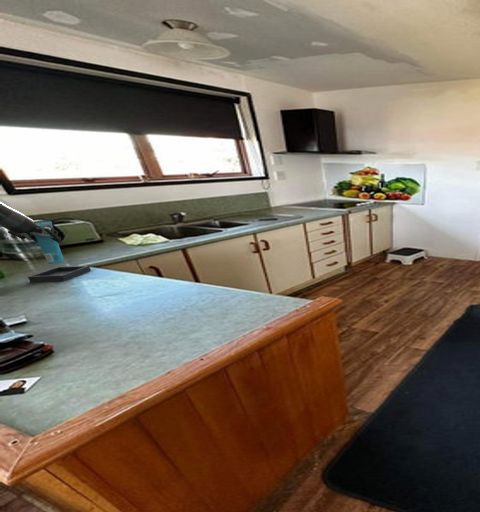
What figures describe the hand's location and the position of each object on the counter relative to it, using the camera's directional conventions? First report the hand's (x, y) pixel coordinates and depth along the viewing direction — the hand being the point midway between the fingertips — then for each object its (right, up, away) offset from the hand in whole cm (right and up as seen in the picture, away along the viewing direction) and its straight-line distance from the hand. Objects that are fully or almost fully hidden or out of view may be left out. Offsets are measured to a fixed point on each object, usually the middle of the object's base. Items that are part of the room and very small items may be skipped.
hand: (50, 240), depth 124 cm
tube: (+1, -10, +2) cm, 11 cm away
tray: (+1, -17, +4) cm, 17 cm away
